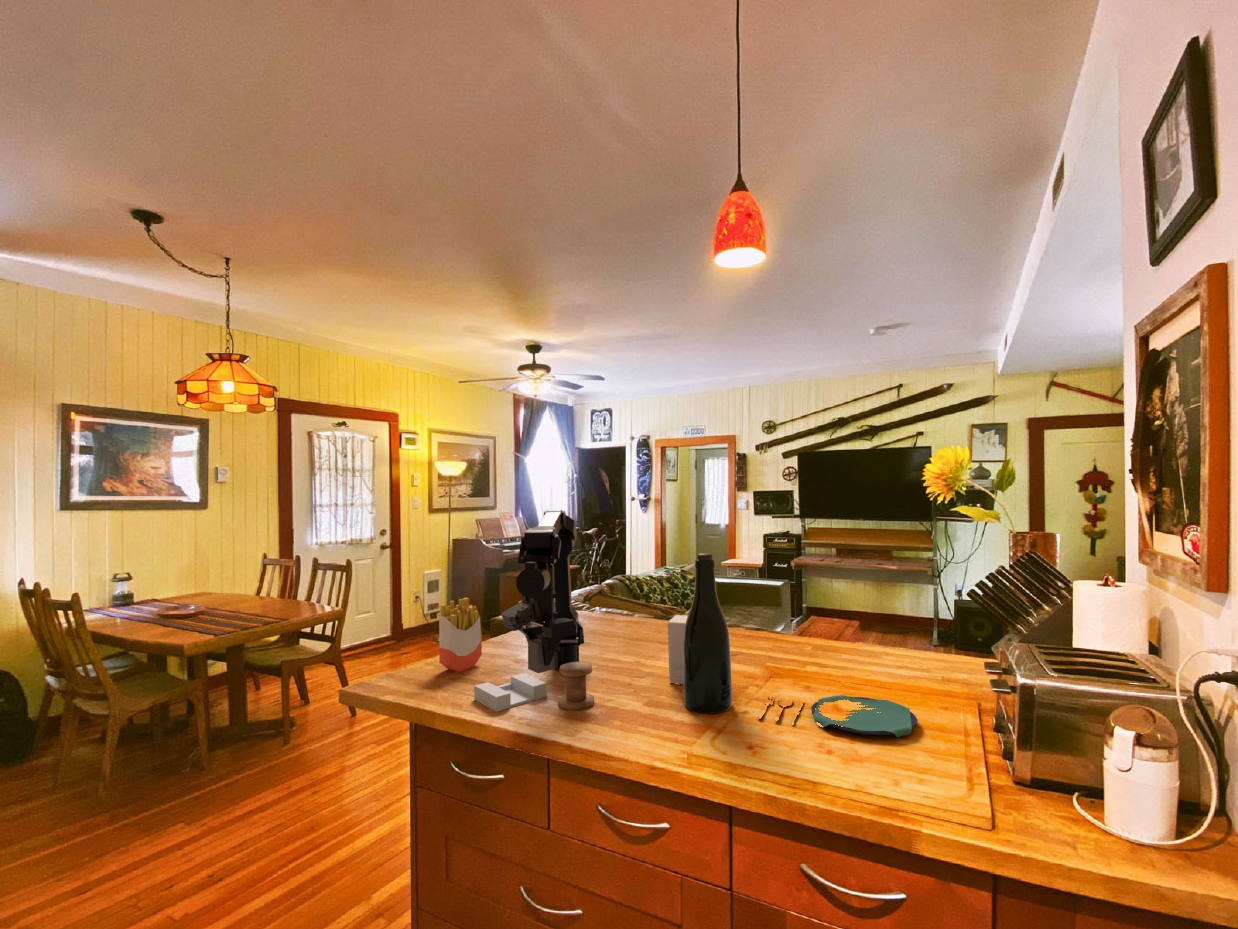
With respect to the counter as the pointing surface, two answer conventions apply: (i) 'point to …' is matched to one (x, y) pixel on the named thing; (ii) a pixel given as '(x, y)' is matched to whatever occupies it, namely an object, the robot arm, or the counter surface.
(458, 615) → the french fries container
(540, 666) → the block
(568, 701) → the bobbin
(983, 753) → the counter surface
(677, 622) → the supplement box
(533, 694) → the notched board
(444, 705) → the counter surface
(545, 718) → the counter surface
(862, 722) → the teal oval plate
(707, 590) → the wine bottle
